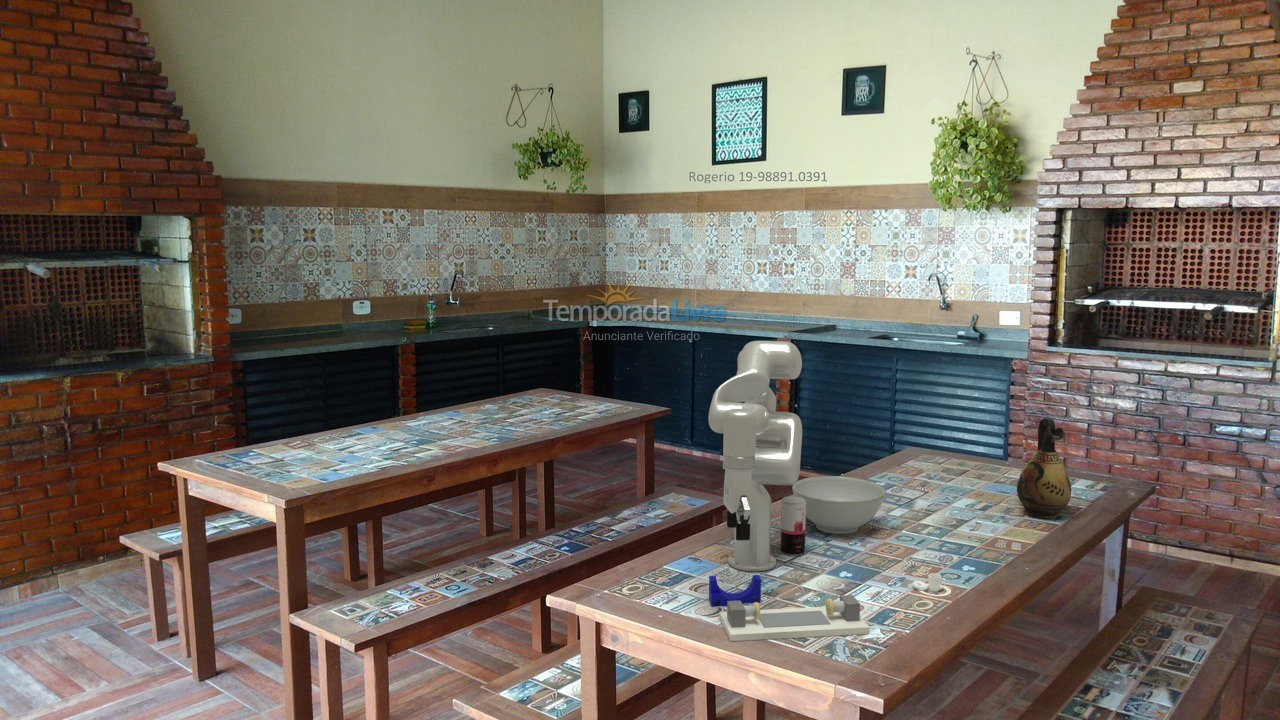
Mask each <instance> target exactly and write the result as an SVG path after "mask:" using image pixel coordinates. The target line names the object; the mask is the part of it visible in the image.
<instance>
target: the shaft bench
mask: <svg viewBox="0 0 1280 720" xmlns="http://www.w3.org/2000/svg"><path fill="white" fill-rule="evenodd" d="M726 607H727V608H726V610H727V611H720V612H719V621H720V622H721V625H722V627H723V628H724V630H725V633H726V635H727V637H728V638H729V641H730V642H740V641H741V642H742V641H757V640H758V641H759V640H760V641H762V640H775V639H776V640H780V639H781V640H782V639H797V638H799V639H800V638H815V637H832V636H833V637H834V636H853V635H869V634H870V626H869V625H868V624H867V622H866V621H865V620H864V619H863V618H862V617H861V616H860V615H861V603H860V602H859V601H858V600H857V599H856V597H855V596H854V595H853V594H850V595H849V594H848V595H847V594H843V595H839V600H836V601H835V600H833V599H832V598H826V600H825V606H812V607H811V606H810V607H792V608H773V609H761V608H760V603H758V602H754V603H752V604H751V605H744V603H742V602H741V601H727V606H726Z"/></svg>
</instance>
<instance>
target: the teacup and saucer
mask: <svg viewBox="0 0 1280 720" xmlns="http://www.w3.org/2000/svg"><path fill="white" fill-rule="evenodd" d="M927 576H928V577H927V582H928V583H927V582H926V583H925V582H923V581H920V580H914V581H913V582H912V587H913V588H914V589H916V590H917V591H918V592H920V593H921V594H924V595H927V596H931V597H947V596H949V595H950V594H951V593H952V590H951V589H950V588H949V587H947V586H946V585H947V579H946V578H944V577H943V576H942V575H941V574H939V573H934V572H933V573H929V574H928V575H927ZM943 580H944V581H945V583H944V584H943V585H942V581H943ZM928 589H929V590H930V591H932V592H933V594H932V593H928V592H925V591H927V590H928ZM942 589H944V590H945V591H946V592H945V593H942V594H934V593H935V592H939V591H940V590H942Z"/></svg>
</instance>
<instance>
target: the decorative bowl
mask: <svg viewBox="0 0 1280 720" xmlns="http://www.w3.org/2000/svg"><path fill="white" fill-rule="evenodd" d="M791 486H792V487H791V488H792V493H793V496H796V497H802V498H804V499H805V502H806V518H807V519H808V520H809V521H810V522H811V523H813V524H815V527H816V528H817V529H818V530H819V531H821V532H824V533H827V534H832V535H833V534H834V535H847V534H848V535H849V534H855V533H856V532H858V531H859V528H860V527H862V526H864V525H865V524H867V523H868V522H870V520H872V519H873V518H874V517H875V516H876V515H877V513H878V511H879V510H880V508H881V507H882V504H883V502H884V500H885V496H886V490H885V488H884V487H883V486H882V485H880V484H878V483H876V482H873V481H870V480H867V479H861V478H856V477H851V476H850V477H849V476H837V475H836V476H835V475H834V476H833V475H826V476H825V475H824V476H812V477H806V478H802V479H798V480H797V482H796V483H795V484H793V485H791Z"/></svg>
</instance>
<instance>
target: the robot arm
mask: <svg viewBox="0 0 1280 720" xmlns="http://www.w3.org/2000/svg"><path fill="white" fill-rule="evenodd" d="M802 358H803V357H802V355H801V352H800V351H799V348H798V347H797V346H796V345H795V344H794V343H793V342H790V341H784V340H781V341H780V340H753V341H750V342H747V343H746V344H745V345H744V346H743V348H742V350H741V351H740V352H739V354H738V355H737V371H736V375H734V376H732V377H730V378H729V379H728V380H726V381H724V382H723V383H722V384H721V385H719V387H718V388H716V390H715V392H714V393H713V395H712V399H711V403H710V406H709V410H708V425H709V427H710V429H711V430H712V431H713V432H714V433H717V434H723V440H722V441H723V442H722V445H723V446H722V447H723V448H722V450H723V451H722V453H723V454H722V469H723V470H725V471H724V481H723V483H724V484H723V498H722V501H723V505H724V507H726V509H727V510H726V526H727V529H731V528H734V536H733V537H734V542H733V543H734V547H733V549H734V553H732V554H730V555H729V556H728V558H727V559H728V560H727V561H728V562H727V563H728V564H729V566H731V567H732V568H734V569H736V570H739V571H744V572H765V571H769V570H772V569H774V568H775V567H776V565H777V559H776V558H775V556H774V555H772V554H771V547H772V546H771V544H772V543H771V542H772V541H771V539H772V537H771V536H772V535H771V534H772V499H771V495H770V494H769V492H768V490H767V489H766V487H765V486H764V485H774V486H793V484H795V483H796V482H797V481H799V476H800V471H801V455H802V444H803V443H802V441H803V425H802V420H801V418H800V416H798V414H796V413H793V412H788V411H776V410H777V409H776V407H777V396H776V394H775V393H774V391H773V390H772V388H771V387H770V382H771V379H774V380H796V379H797V378H799V376H800V374H801V372H802V367H803V361H802V360H803V359H802Z"/></svg>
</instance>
